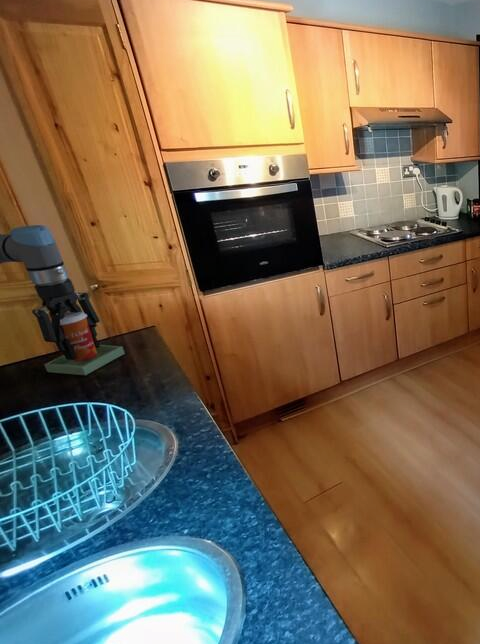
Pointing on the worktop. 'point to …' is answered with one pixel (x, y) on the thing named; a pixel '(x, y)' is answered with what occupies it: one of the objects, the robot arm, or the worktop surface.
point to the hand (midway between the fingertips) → (83, 352)
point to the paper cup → (79, 335)
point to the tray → (85, 367)
